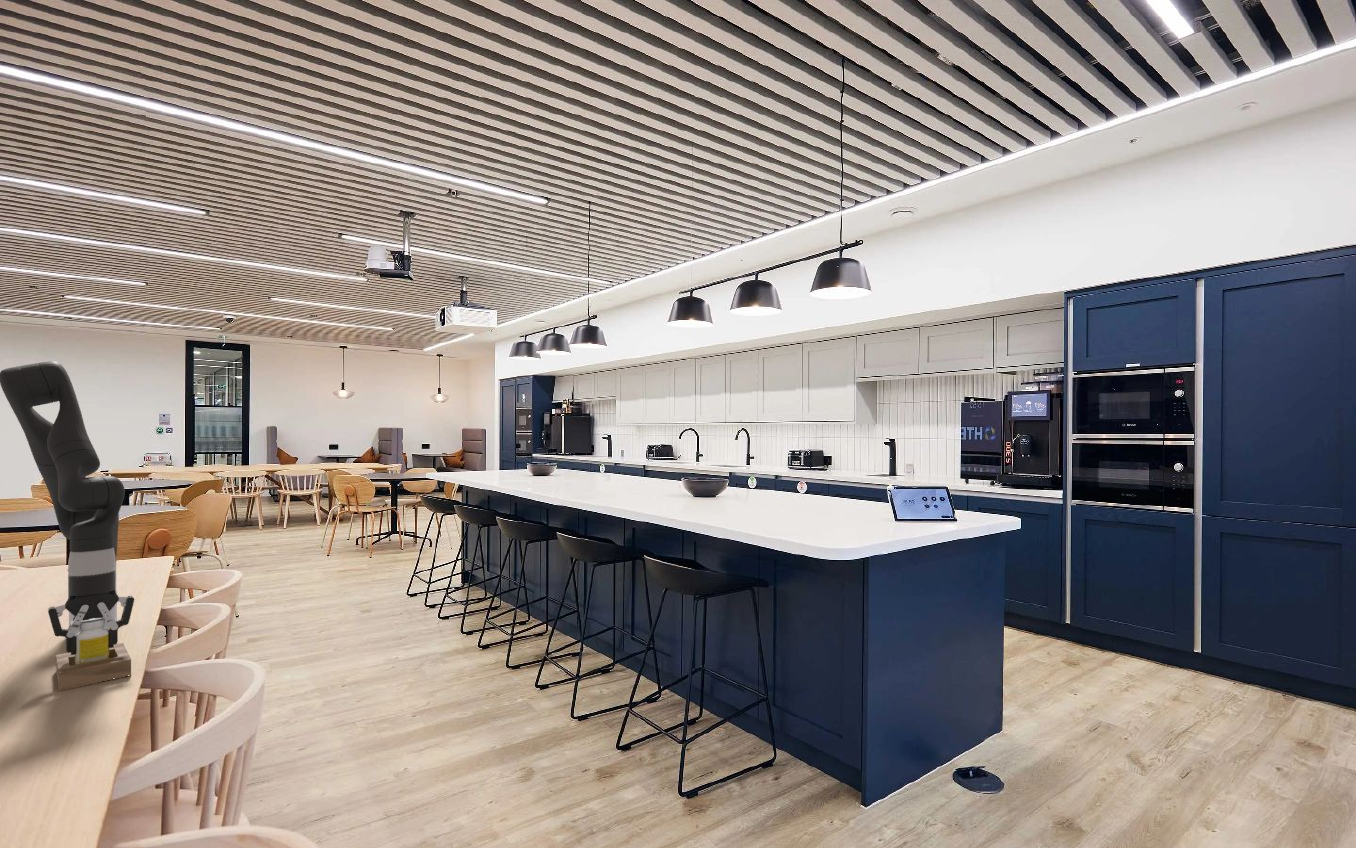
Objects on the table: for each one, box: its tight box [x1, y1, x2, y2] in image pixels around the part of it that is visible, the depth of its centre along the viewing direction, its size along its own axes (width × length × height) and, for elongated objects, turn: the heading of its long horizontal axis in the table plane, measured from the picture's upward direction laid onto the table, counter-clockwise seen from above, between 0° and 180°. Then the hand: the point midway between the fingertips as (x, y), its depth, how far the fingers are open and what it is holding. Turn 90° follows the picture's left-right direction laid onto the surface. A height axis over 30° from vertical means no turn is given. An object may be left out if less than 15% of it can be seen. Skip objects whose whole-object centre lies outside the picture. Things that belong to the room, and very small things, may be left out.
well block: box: [55, 642, 132, 692], centre depth 138 cm, size 16×11×4 cm
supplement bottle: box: [75, 618, 109, 665], centre depth 138 cm, size 5×5×10 cm
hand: (92, 650), depth 138 cm, fingers closed on supplement bottle, 5 cm apart
